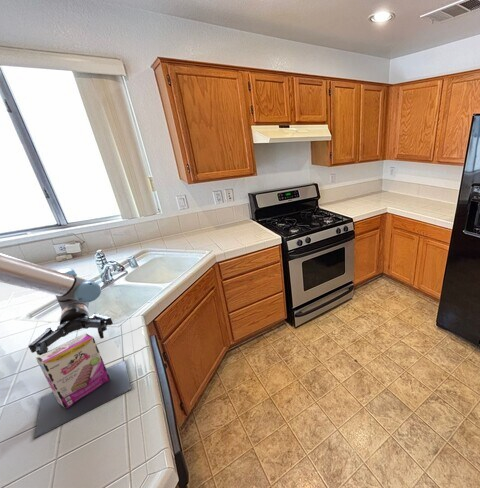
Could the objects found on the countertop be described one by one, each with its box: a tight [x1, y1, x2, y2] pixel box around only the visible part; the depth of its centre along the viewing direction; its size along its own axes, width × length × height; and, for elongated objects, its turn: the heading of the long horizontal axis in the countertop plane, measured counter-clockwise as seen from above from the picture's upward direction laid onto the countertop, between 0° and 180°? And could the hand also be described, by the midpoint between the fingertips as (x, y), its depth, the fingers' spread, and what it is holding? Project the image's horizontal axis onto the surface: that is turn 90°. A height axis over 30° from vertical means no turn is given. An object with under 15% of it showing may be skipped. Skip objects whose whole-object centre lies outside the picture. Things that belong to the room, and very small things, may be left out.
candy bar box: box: [35, 332, 110, 409], centre depth 75 cm, size 11×5×16 cm, turn 154°
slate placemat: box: [34, 360, 132, 439], centre depth 77 cm, size 20×16×1 cm
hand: (73, 345), depth 81 cm, fingers open, 13 cm apart
